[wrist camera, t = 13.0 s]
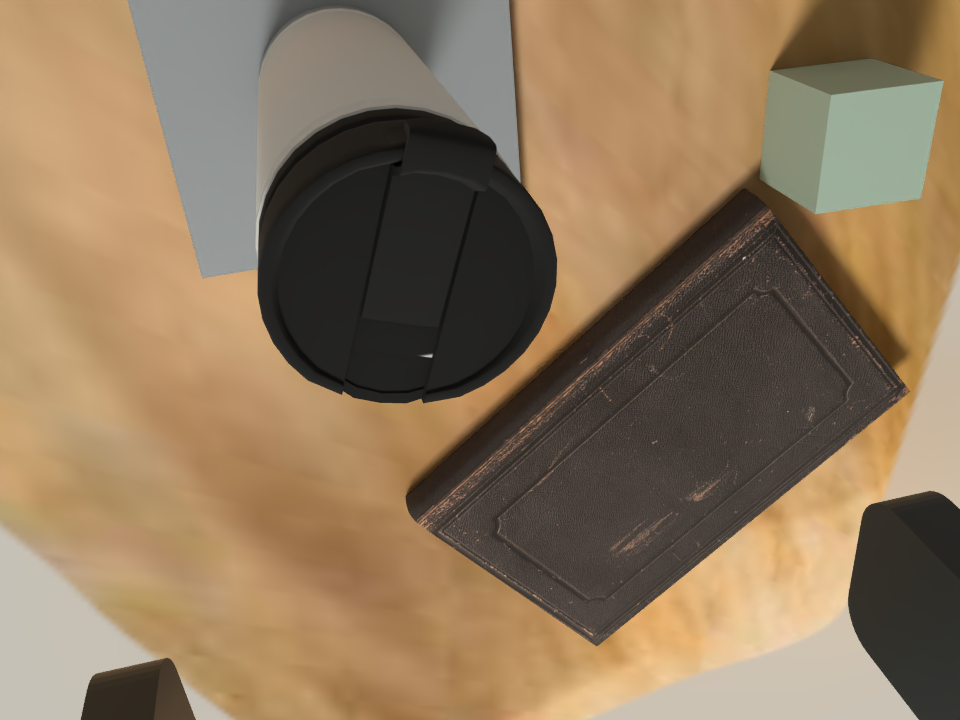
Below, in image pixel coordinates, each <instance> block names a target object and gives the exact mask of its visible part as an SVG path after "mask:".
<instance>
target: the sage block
mask: <svg viewBox="0 0 960 720" xmlns="http://www.w3.org/2000/svg"><path fill="white" fill-rule="evenodd" d="M942 87H943V80H940V79H937V78H933V77H930V76H927V75H924V74H921V73H917V72H914V71H911V70H908V69H904V68H901V67H898V66H895V65H892V64H888V63H885V62H882V61H879V60H875V59H872V58H870V59H862V60H854V61H846V62H837V63H829V64H821V65H813V66H804V67H796V68H788V69H779V70H771V71H770V74H769V84H768V94H767V105H766V115H765V126H764V136H763V146H762V157H761V167H760V178H759V179H760V180H761V181H763V182H764V183H766V184H768V185H769V186H771V187H773V188H774V189H776V190H777V191H779V192H781V193H782V194H784V195H785V196H787V197H789V198H790V199H792V200H793V201H795V202H797V203H798V204H800V205H801V206H803V207H805V208H806V209H808V210H809V211H811V212H813V213H814V214H820V213H826V212H833V211H840V210H846V209H853V208H860V207H867V206H873V205H880V204H887V203H893V202H900V201H907V200H913V199H920V198H921V195H922V190H923V185H924V179H925V174H926V169H927V164H928V159H929V154H930V148H931V143H932V138H933V133H934V128H935V123H936V117H937V112H938V107H939V102H940V97H941V92H942Z"/></svg>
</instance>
